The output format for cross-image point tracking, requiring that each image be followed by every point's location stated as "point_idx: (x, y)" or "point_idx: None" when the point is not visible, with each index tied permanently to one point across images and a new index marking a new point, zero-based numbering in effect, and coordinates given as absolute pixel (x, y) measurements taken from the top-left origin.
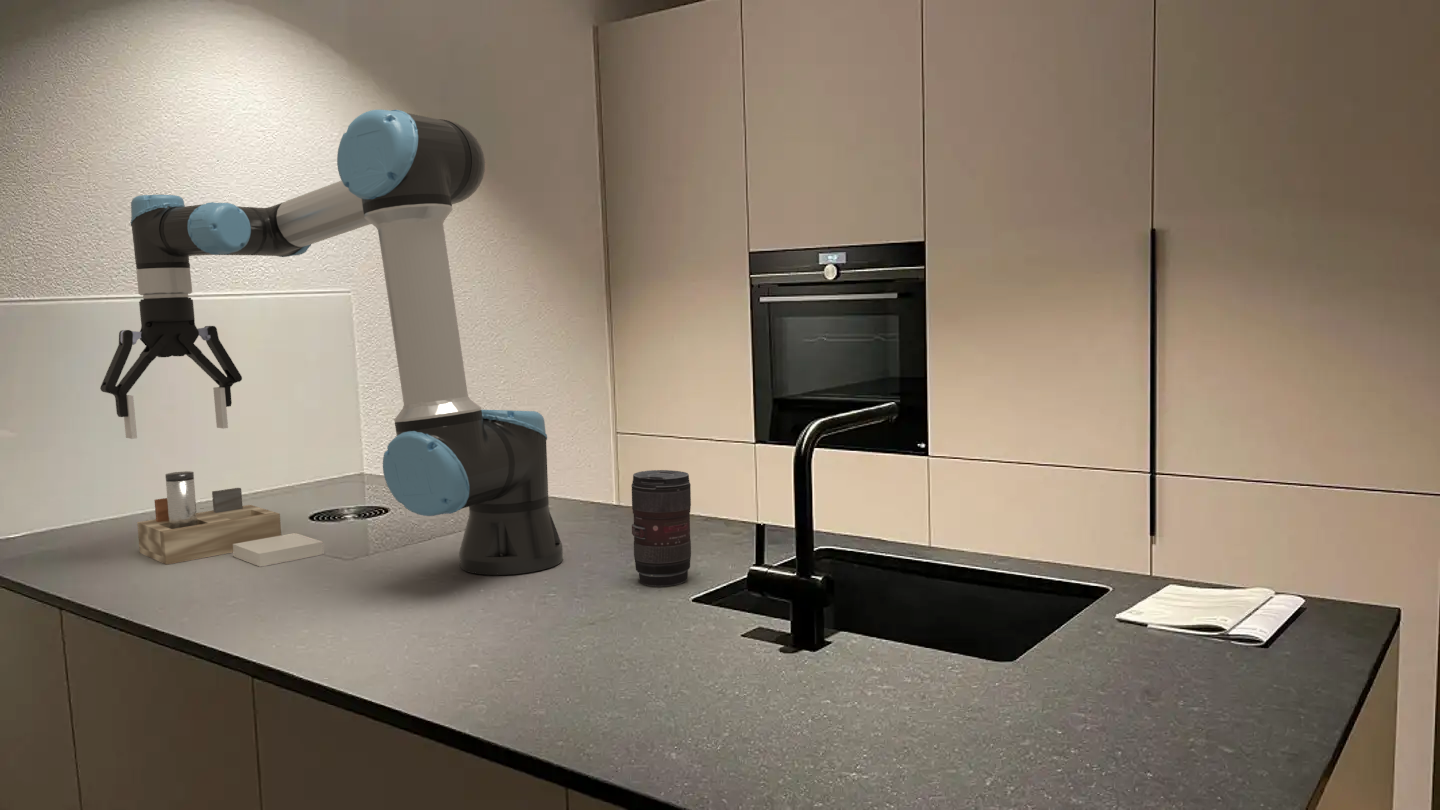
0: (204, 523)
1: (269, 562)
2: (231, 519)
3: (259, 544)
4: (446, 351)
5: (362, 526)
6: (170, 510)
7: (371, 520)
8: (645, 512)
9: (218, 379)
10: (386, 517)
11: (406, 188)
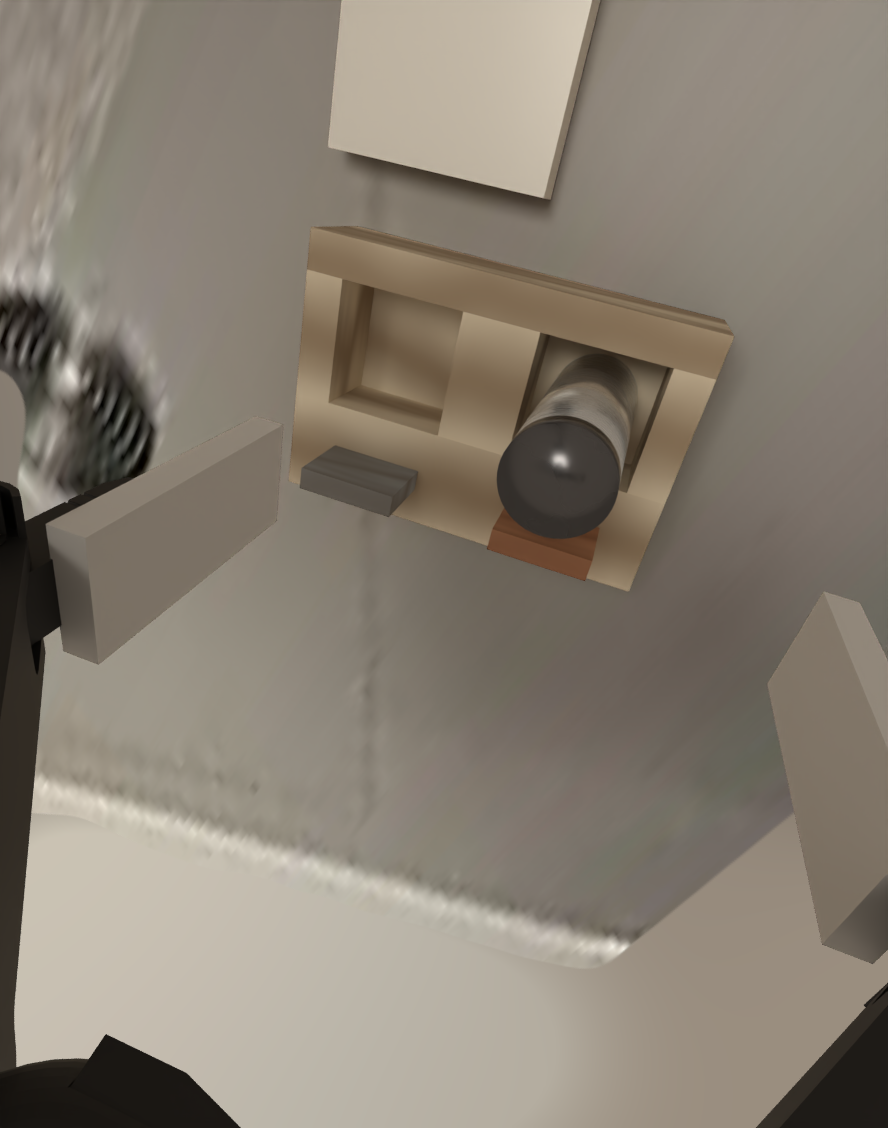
0: (529, 374)
1: None
2: (460, 309)
3: (504, 79)
4: None
5: (96, 199)
6: (629, 436)
7: (47, 253)
8: None
9: (17, 588)
10: (3, 245)
11: None
